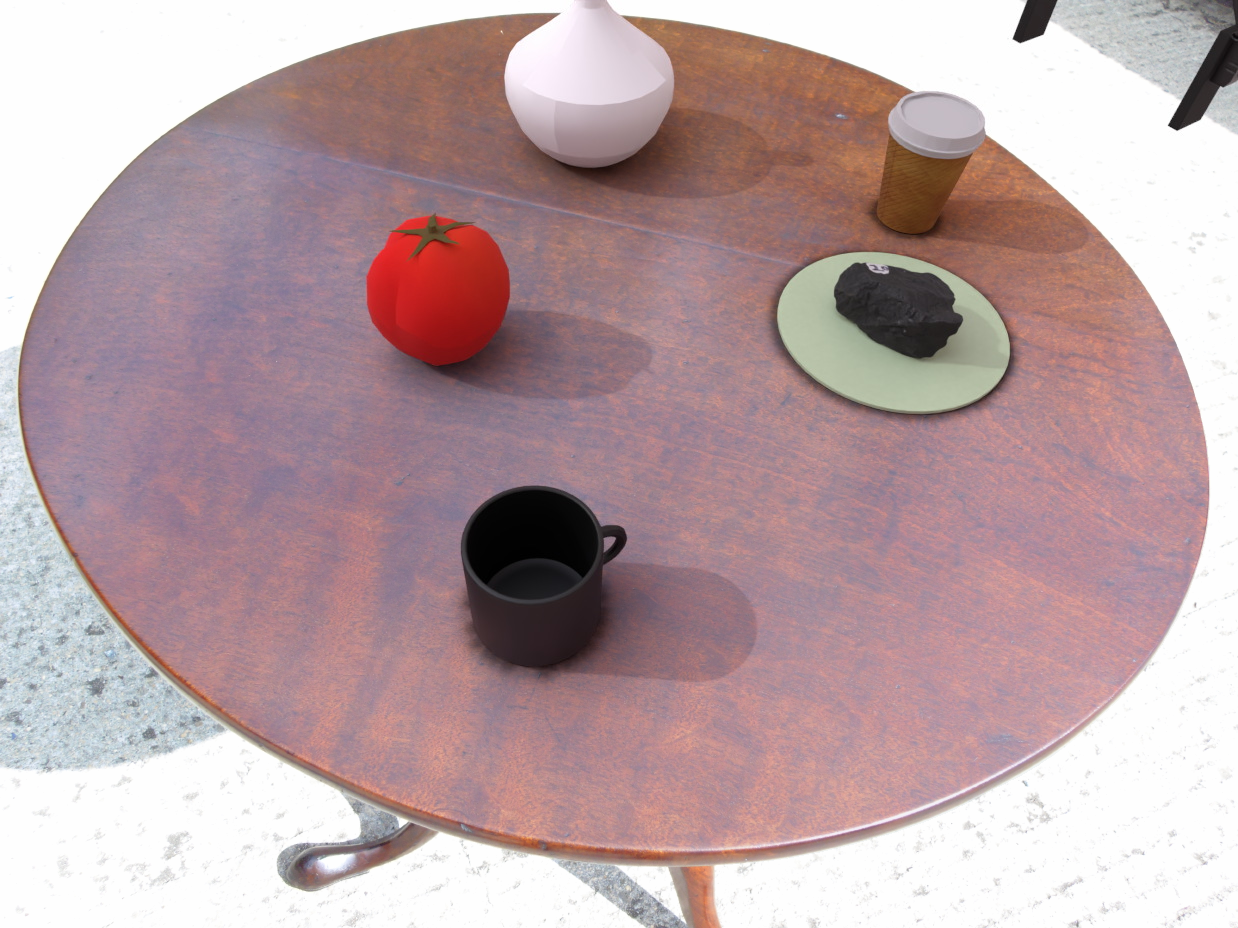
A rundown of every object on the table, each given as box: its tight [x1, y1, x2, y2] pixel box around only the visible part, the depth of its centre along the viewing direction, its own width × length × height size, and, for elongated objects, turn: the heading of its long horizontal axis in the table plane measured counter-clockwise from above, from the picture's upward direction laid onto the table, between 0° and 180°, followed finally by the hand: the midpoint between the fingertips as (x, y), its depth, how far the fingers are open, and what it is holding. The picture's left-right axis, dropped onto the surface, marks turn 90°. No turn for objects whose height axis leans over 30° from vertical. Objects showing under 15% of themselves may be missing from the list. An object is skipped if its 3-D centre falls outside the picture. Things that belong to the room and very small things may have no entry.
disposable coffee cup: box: [876, 90, 987, 235], centre depth 95 cm, size 10×10×12 cm
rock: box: [834, 262, 963, 359], centre depth 85 cm, size 9×10×6 cm
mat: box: [776, 251, 1011, 415], centre depth 88 cm, size 22×22×1 cm
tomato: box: [365, 212, 511, 367], centre depth 79 cm, size 12×12×13 cm
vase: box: [503, 0, 675, 169], centre depth 98 cm, size 18×18×19 cm
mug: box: [460, 484, 628, 667], centre depth 64 cm, size 9×12×9 cm
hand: (1101, 78), depth 66 cm, fingers open, 13 cm apart
